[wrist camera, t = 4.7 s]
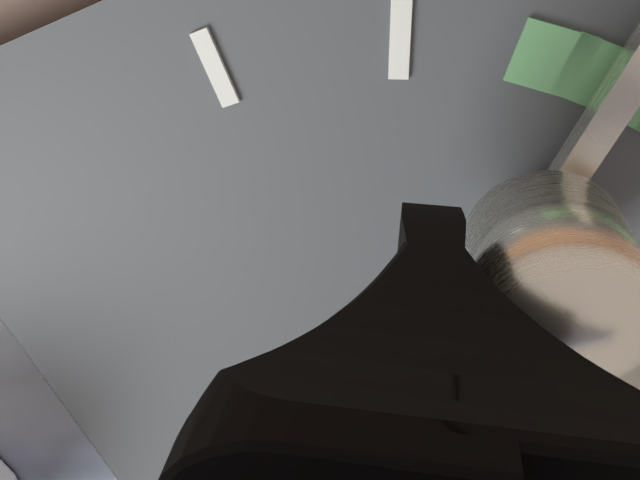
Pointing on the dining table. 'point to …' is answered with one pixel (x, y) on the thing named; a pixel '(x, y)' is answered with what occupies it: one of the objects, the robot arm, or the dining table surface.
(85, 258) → the dial board
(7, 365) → the dining table surface
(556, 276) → the peg lever
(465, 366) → the robot arm
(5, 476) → the white cup
